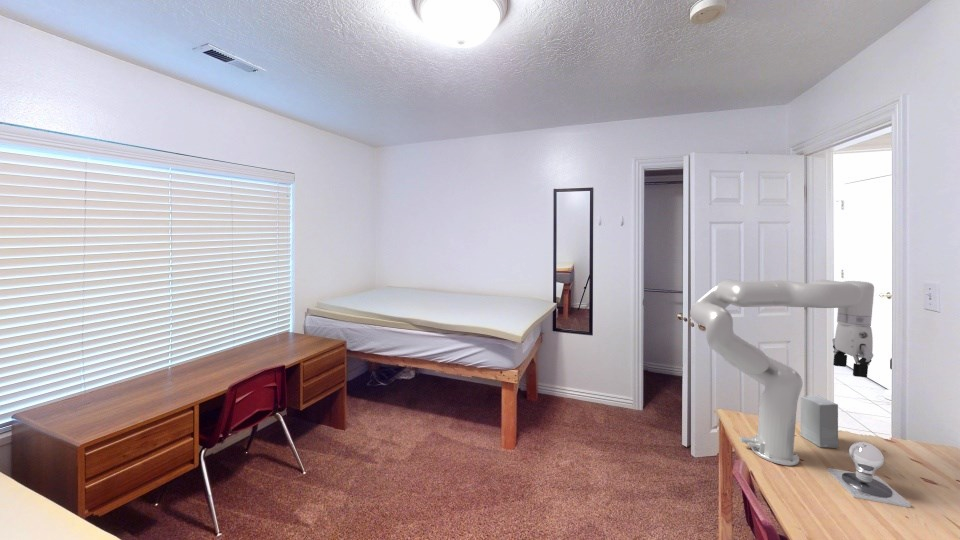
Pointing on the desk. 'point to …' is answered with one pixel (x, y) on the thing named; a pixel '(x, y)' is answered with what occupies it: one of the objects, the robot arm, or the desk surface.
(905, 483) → the desk surface
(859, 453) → the light bulb
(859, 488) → the duct plate
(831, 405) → the skincare box
